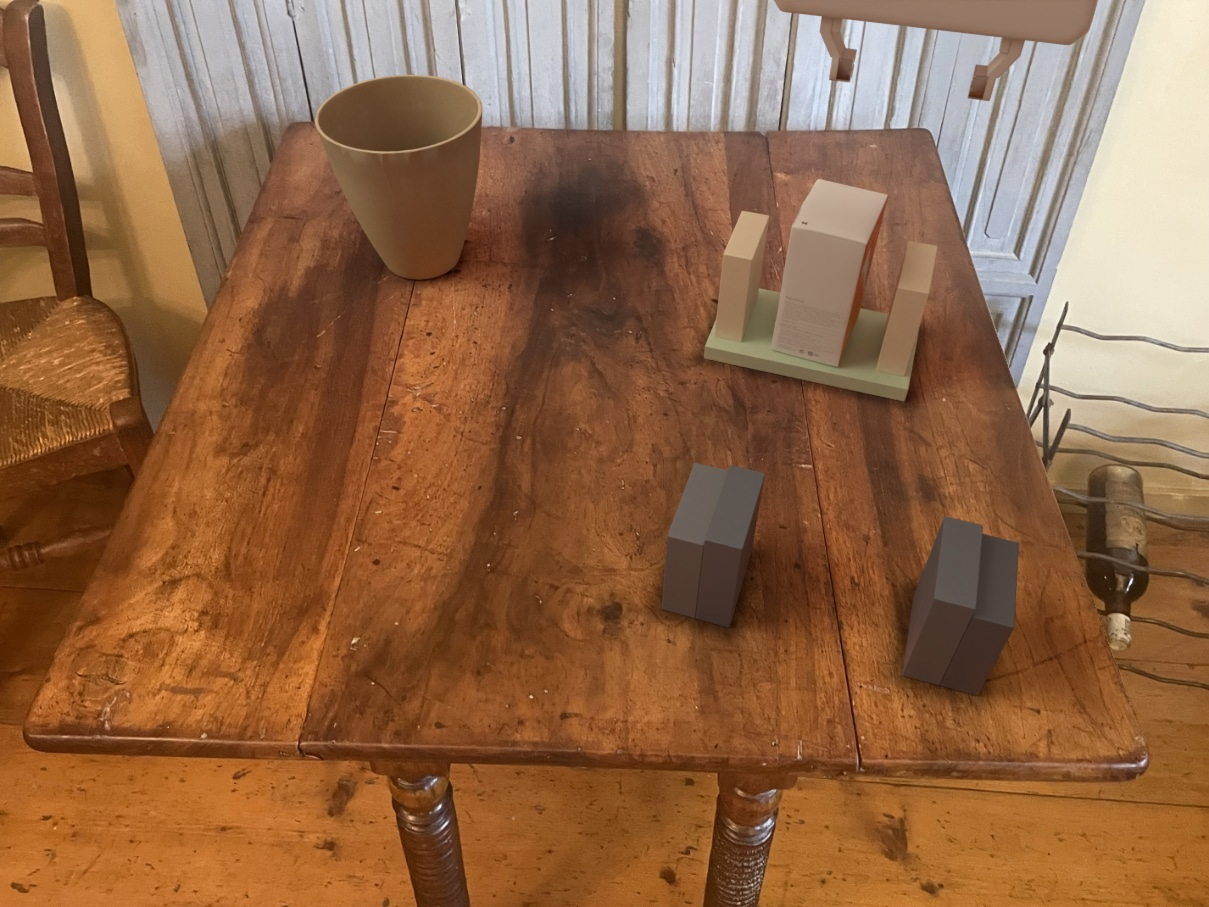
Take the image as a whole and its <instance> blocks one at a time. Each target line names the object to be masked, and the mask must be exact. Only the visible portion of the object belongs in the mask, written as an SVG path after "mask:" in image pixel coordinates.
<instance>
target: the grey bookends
mask: <svg viewBox="0 0 1209 907" xmlns="http://www.w3.org/2000/svg"><path fill="white" fill-rule="evenodd" d="M765 478H766V472H761V471H758V470H753V469H749V468H745V467H742V466H741V467H740V466H737V465H732V464H730V465H729V467H728V469H724V468H720V467H716V466H712V465H709V464H708V465H707V464H703V463H699V462H693V466H692V468H691V471H690V473H689V476H688V478H687V481H686V484H685V487H684V489H683V492H682V495H681V497H680V500H679V503H678V506H677V508H676V511H675V514H674V516H673V519H672V521H671V524H670V526H669V527H670V528H669V530H668V533H667V537H666V546H665V547H666V548H665V549H666V550H665V560H664V574H663V588H662V598H661V600H662V601H661V610H663V611H667V612H671V613H674V614H678V615H680V616H681V615H682V616H684V617H688V618H693V619H696V620H700V621H703V622H707V623H711V624H715V625H718V626H721V627H724V628H728V629H729V628H731V624H732V620H733V617H734V614H735V610H736V607H737V603H738V600H739V597H740V594H741V591H742V586H743V583H744V579H745V577H746V573H747V570H748V566H749V563H750V560H751V556H752V550H753V545H754V540H755V535H756V530H757V529H756V528H757V523H758V517H759V513H760V512H759V511H760V506H761V501H762V495H763V488H764V483H765ZM983 532H984V525H983V524H980V523H977V522H972V521H967V520H963V519H959V518H955V517H951V516H947V515H944V517H943V518H942V521H941V524H940V526H939V529H938V532H937V534H936V536H935V539H934V542H933V544H932V547H931V548H930V549H931V550H930V552H929V555H928V557H927V560H926V562H925V565H924V568H923V570H922V572H921V574H920V578H919V580H918V583H917V585H916V588H915V590H914V593H913V597H912V604H911V609H910V611H911V612H910V617H909V623H908V630H907V636H906V645H905V651H904V657H903V658H904V659H903V666H902V673H901V676H903V677H907V678H910V679H914V680H917V681H921V682H924V683H927V684H932V685H936V686H940V687H943V688H946V689H950V690H953V691H957V692H962V693H966V694H969V695H971V696H975V697H976V696H977V697H978V696H979V695H980V692H981V691H982V689H983V687H984V685H985V683H986V681H987V679H988V677H989V676H990V674H991V672H992V670H993V668H994V666H995V664H996V663H997V661H998V659H999V657H1000V656H1001V653H1002V651H1003V650H1004V648H1005V646H1006V644H1007V642H1008V640H1009V638H1010V637H1011V635H1012V633H1013V631H1014V629H1015V624H1016V606H1017V587H1018V570H1019V569H1018V568H1019V553H1020V542H1019V541H1014V540H1011V539H1007V538H1003V537H997V536H993V535H989V534H987V533H986V534H985V533H983Z"/></svg>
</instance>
